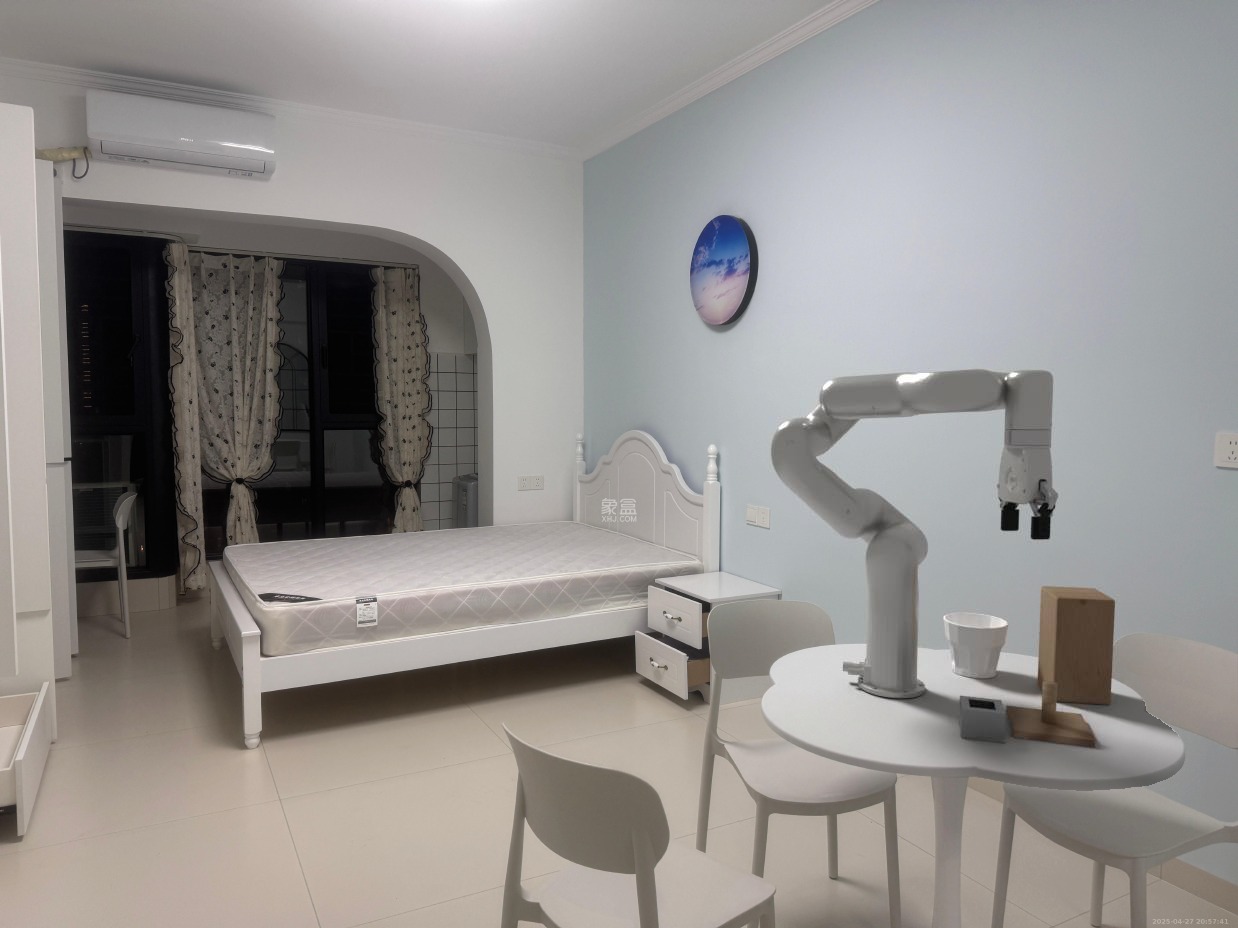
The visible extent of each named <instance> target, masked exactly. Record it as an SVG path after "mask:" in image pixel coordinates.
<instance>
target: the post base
mask: <svg viewBox="0 0 1238 928" xmlns="http://www.w3.org/2000/svg"><path fill="white" fill-rule="evenodd" d="M1041 689H1042V690H1041V693H1042V694H1041V695H1042V696H1041V708H1034V707H1024V706H1016V705H1005V714H1006V716H1007V719H1008V723H1009V726H1010V730H1011V733H1012V735H1013V737H1012V738H1017V739H1026V740H1031V741H1032V740H1033V741H1041V742H1049V743H1056V744H1057V743H1058V744H1063V745H1073V746H1081V747H1087V748H1096V738H1095V737H1094V735H1093V733H1092V731H1091V729H1090V727H1089V726H1088V724H1087V722H1086V721H1085V718H1084V716H1083V715H1082V713H1078V712H1077V713H1075V712H1069V711H1068V712H1067V711H1059V710H1057V683H1055V682H1051V681H1043V687H1042V688H1041Z"/></svg>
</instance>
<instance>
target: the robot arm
mask: <svg viewBox="0 0 1238 928" xmlns="http://www.w3.org/2000/svg"><path fill="white" fill-rule="evenodd" d="M1053 397H1054V376H1053V374H1052V373H1051V372H1050V371H1048V370H1044V369H1028V370H1027V369H1023V370H1022V369H1021V370H1015V371H1011V372H1001V371H1000V372H998V371H992V370H989V369H988V370H987V369H984V368H974V369H960V370H959V369H957V370H945V371H931V372H929V371H928V372H909V371H908V372H895V373H894V372H893V373H881V374H880V373H879V374H867V375H866V374H864V375H863V374H862V375H850V376H838V377H835V378H832V379H829V380H827V382H825V383H824V384H823V386H822V387H821V389H820V390H819V395H818V403H819V404H818V405H817V406H816V407H815V408H814V409H813V410H812V411H811V412H810V413H809V414H808V415H807V416H806V417H796V418H792V419H791V418H790V419H789V420H786V421H785V422H783V423H781V424H780V425H779V426H778V428H777V429H776V430H775V432H774V434H773V437H772V441H771V443H770V444H771V446H770V458H771V463H772V466H773V468H774V470H775V473H776V475H777V476H778V478H779V479H780V480H781V482H782V483H783V484H784V485H785V486H786V487H787V488H788V489H789V490H790V491H791V492H792V493H793V494H795V496H797V497H798V498H799V499H800V500H801V501H802V502H804V503H805V505H807V507H809V509H811V510H812V512H814V513H815V514H816V515H818V516H819V517H820V518H821V519H822V520H823V521H824V522H825V523H827V524H828V525H829V526H830V527H831V528H832V529H833V530H834V532H836V533H837V534H838V535H840V536H842V537H844V538H845V539H849V540H850V539H858V538H860V539H862V540H863V541H864V542H865V543H867V549H866V551H865V569H866V570H865V571H866V584H867V585H866V586H867V587H866V589H867V591H866V592H867V596H866V597H867V600H866V601H867V602H866V603H867V605H866V607H867V608H866V611H867V612H866V616H867V617H866V619H867V620H866V651H865V653H866V655H865V659H864V661H859V662H858V663H857V662H856V663H855V662H854V663H853V662H852V661H851V662H850V661H842V662H843V663H842V672H847V674H848V675H850V676H851V675H852V676H858V677H857V686H858V687H859V688H860V689H862V690H863V691H865V692H867V693H869V694H871V695H876V696H879V697H883V698H892V699H911V698H912V699H913V698H916V697H920V696H922V695H923V694H925V693H926V685H925V683H924V682H923V680H921V679H918V652H919V651H918V646H919V644H918V643H919V615H920V614H919V608H920V607H919V606H920V605H919V604H920V595H919V594H920V593H919V590H920V589H919V566H920V565H921V564H922V563H923V562H924V561H925V559H926V557H927V555H928V550H929V544H928V540H927V537H926V535H925V534H924V532H923V531H922V530H921V529H920V527H918V526H917V525H916V524H915V523H914V522H913V521H912V520H910V518H908V517H907V516H906V515H904V513H902V512H901V511H900V510H898V509H897V508H896V507H895V506H893V505H892V504H891V503H890V502H889V501H888V500H887V499H885V498H884V497H883V496H882V495H880V494H878V492H876V491H873V490H871V489H869V488H864V487H860V488H853V487H852V486H851V485H850V484H848V483H847V482H846V481H845V480H843V479H842V478H841V477H840V476H838V474H837V473H835V472H834V471H833V470H832V469H830V468H829V467H828V466H826V465H825V464H823V463H822V462H820V460H819V459H818V458H817V457H819V456H822V455H823V454H826V453H827V452H828V451H829V450H831V448H833V447H834V446H835V445H836V444H837V443H838V442H839V441H840V440H841V439H842V438H843V437H844V436H845V435H846V434H847V433H848V432H849V431H850V430H851V429H852V428H853V427H854V426H855V425H856V424H858V422H859V421H860V420H864V419H865V420H867V419H884V418H885V419H888V418H890V419H891V418H911V417H913V416H918V415H928V414H946V413H947V414H948V413H949V414H950V413H980V412H990V411H999V410H1004V434H1003V435H1004V438H1003V439H1004V440H1003V441H1004V442H1003V448H1002V452H1001V456H1000V463H999V472H998V483H997V485H996V488H997V496H998V499H999V502H1000V503H999V509H1001V510H1000V530H1001V531H1003V532H1017V531H1019V530H1020V529H1019V528H1020V526H1019V525H1020V509H1018V506H1019V505H1028V504H1029V507H1030V509H1031V510H1032V514H1033V515H1032V516H1031V517H1030V518H1031V519H1030V523H1031V524H1030V539H1031V540H1036V541H1037V540H1039V541H1040V540H1042V541H1043V540H1050V539H1051V519H1052V517H1053V515H1054V510H1055V509H1056V505H1057V500H1058V498H1059V494H1058V492H1057V491H1056V490H1055V489H1054V488H1053V465H1052V463H1053V462H1052V455H1051V454H1052V453H1051V449H1052V431H1053V430H1052V429H1053V428H1052V425H1053V403H1054V402H1053Z"/></svg>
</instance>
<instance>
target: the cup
mask: <svg viewBox="0 0 1238 928" xmlns="http://www.w3.org/2000/svg"><path fill="white" fill-rule="evenodd" d="M943 625H944V634H945V639H946V640H947V642H948V645H949V653H950V659H951V671H952V672H954V674H955V675H959V676H962V677H966V678H970V679H983V680H985V679H986V680H987V679H991V678H994V677H996V676H997V668H998V663H999V659H1000V655H1001V651H1002V649H1003V648H1004V646H1005V644H1006V639H1007V634H1008V628H1009V623H1008V621H1006V620H1004V618H1002V617H1001V618H1000V617H997V616H993V615H990V614H983V613H975V612H953V613H948V614H945V615H943Z"/></svg>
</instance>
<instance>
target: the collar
mask: <svg viewBox="0 0 1238 928" xmlns="http://www.w3.org/2000/svg"><path fill="white" fill-rule="evenodd" d="M1006 716H1007V713H1006V709H1005V706H1004V704H1003V701H1002V699H994V698H984V697H978V696H977V697H976V696H967V695H959V715H958V726H959V732H960V738H961V739H966V740H967V739H968V740H975V741H982V742H989V743H997V744H1005V740H1006Z"/></svg>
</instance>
